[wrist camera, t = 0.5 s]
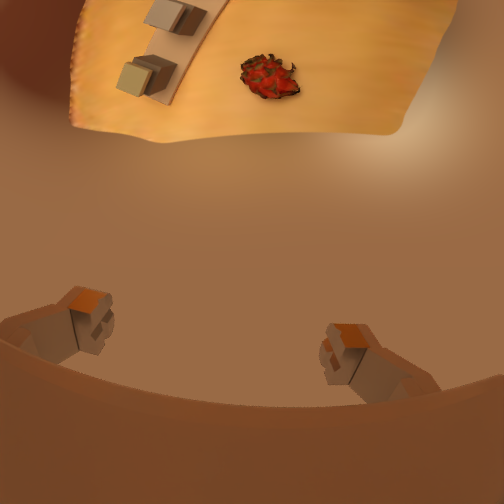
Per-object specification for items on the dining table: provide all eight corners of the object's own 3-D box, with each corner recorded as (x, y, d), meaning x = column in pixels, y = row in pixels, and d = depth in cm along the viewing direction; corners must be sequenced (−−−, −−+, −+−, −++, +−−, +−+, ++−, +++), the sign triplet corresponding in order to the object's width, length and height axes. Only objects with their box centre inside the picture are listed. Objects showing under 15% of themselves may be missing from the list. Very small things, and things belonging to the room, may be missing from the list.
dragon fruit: (242, 57, 44) (295, 83, 48) (225, 89, 45) (281, 115, 49) (256, 38, 36) (315, 69, 40) (236, 72, 37) (300, 104, 41)
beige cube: (168, 0, 28) (156, -3, 25) (192, 8, 30) (183, 4, 26) (155, 23, 31) (143, 22, 28) (178, 31, 33) (168, 30, 29)
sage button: (137, 60, 36) (125, 62, 33) (160, 68, 38) (148, 71, 34) (128, 83, 39) (115, 88, 36) (149, 92, 41) (138, 97, 37)
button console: (215, -57, 24) (202, -72, 17) (261, -42, 26) (256, -58, 19) (132, 87, 47) (109, 97, 40) (170, 104, 50) (151, 115, 43)
